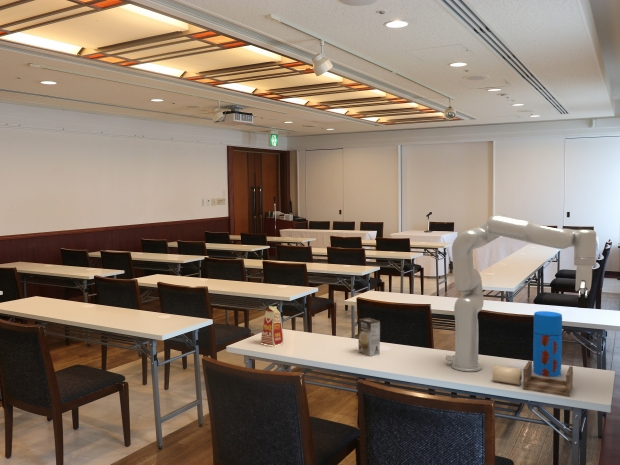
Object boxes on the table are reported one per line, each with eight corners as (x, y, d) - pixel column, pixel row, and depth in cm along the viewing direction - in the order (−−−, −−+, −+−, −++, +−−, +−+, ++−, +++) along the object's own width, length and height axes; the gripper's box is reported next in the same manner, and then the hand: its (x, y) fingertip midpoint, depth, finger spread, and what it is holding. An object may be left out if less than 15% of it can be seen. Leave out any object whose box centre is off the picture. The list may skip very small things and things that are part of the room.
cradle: (523, 389, 211) (523, 368, 210) (528, 380, 221) (528, 360, 220) (569, 396, 202) (569, 375, 202) (572, 387, 213) (572, 366, 212)
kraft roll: (491, 382, 219) (491, 367, 219) (494, 378, 224) (494, 363, 224) (519, 387, 214) (520, 371, 213) (522, 382, 219) (522, 367, 218)
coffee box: (357, 352, 264) (357, 319, 263) (367, 350, 267) (367, 317, 267) (370, 356, 256) (370, 322, 255) (380, 354, 260) (380, 320, 259)
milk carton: (274, 347, 274) (273, 307, 273) (259, 344, 279) (259, 305, 278) (285, 343, 282) (284, 304, 281) (270, 340, 287) (270, 302, 286)
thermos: (537, 367, 238) (538, 310, 237) (564, 372, 231) (565, 313, 230) (529, 373, 230) (530, 314, 228) (556, 378, 223) (557, 317, 221)
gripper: (576, 259, 222) (575, 301, 223) (571, 263, 207) (570, 308, 208) (597, 260, 218) (596, 302, 219) (594, 264, 203) (593, 310, 204)
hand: (583, 305), depth 214 cm, fingers open, 9 cm apart
